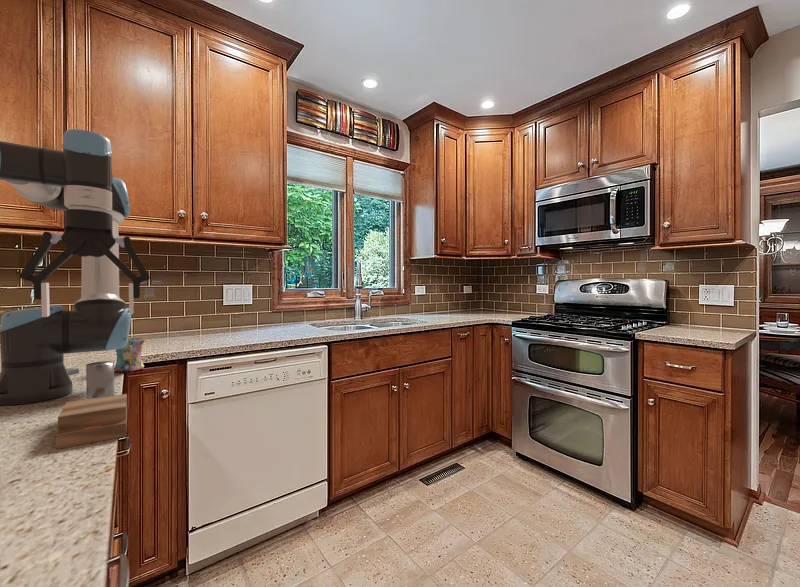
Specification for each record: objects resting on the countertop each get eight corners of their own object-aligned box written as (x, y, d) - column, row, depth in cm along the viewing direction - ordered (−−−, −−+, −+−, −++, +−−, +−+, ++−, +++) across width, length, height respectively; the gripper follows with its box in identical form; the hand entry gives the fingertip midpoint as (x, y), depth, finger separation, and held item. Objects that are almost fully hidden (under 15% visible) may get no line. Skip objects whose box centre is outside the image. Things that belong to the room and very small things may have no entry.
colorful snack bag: (111, 369, 129) (110, 339, 129) (143, 366, 135) (143, 336, 135) (113, 376, 120) (113, 343, 119) (148, 372, 126) (148, 340, 126)
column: (87, 409, 87) (86, 362, 87) (115, 405, 90) (114, 360, 90) (85, 416, 83) (84, 366, 83) (114, 411, 86) (113, 364, 86)
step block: (67, 425, 77) (66, 401, 77) (127, 416, 83) (126, 393, 83) (56, 449, 66) (55, 421, 66) (126, 436, 72) (125, 410, 72)
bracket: (79, 374, 124) (79, 368, 124) (48, 382, 114) (48, 375, 114) (68, 374, 125) (68, 368, 125) (36, 382, 114) (36, 375, 114)
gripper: (-5, 199, 66) (-2, 319, 67) (162, 215, 80) (163, 313, 81) (7, 206, 72) (10, 315, 73) (160, 219, 87) (161, 311, 87)
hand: (90, 315), depth 77 cm, fingers open, 13 cm apart
